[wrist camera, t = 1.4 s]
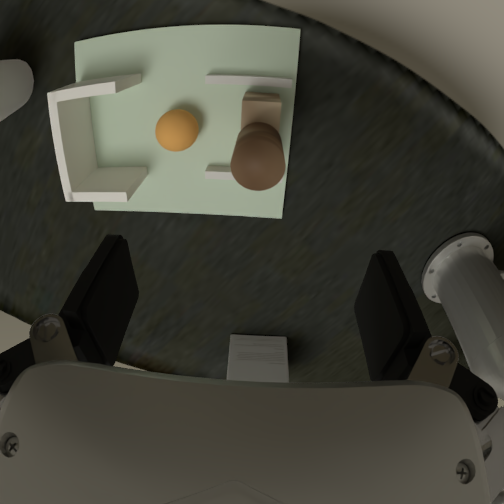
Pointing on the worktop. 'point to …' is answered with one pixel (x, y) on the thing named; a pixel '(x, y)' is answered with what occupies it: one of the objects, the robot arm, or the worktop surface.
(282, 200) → the pitch
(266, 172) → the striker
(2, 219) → the worktop surface
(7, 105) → the foam cup
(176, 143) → the ball
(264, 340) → the supplement box
